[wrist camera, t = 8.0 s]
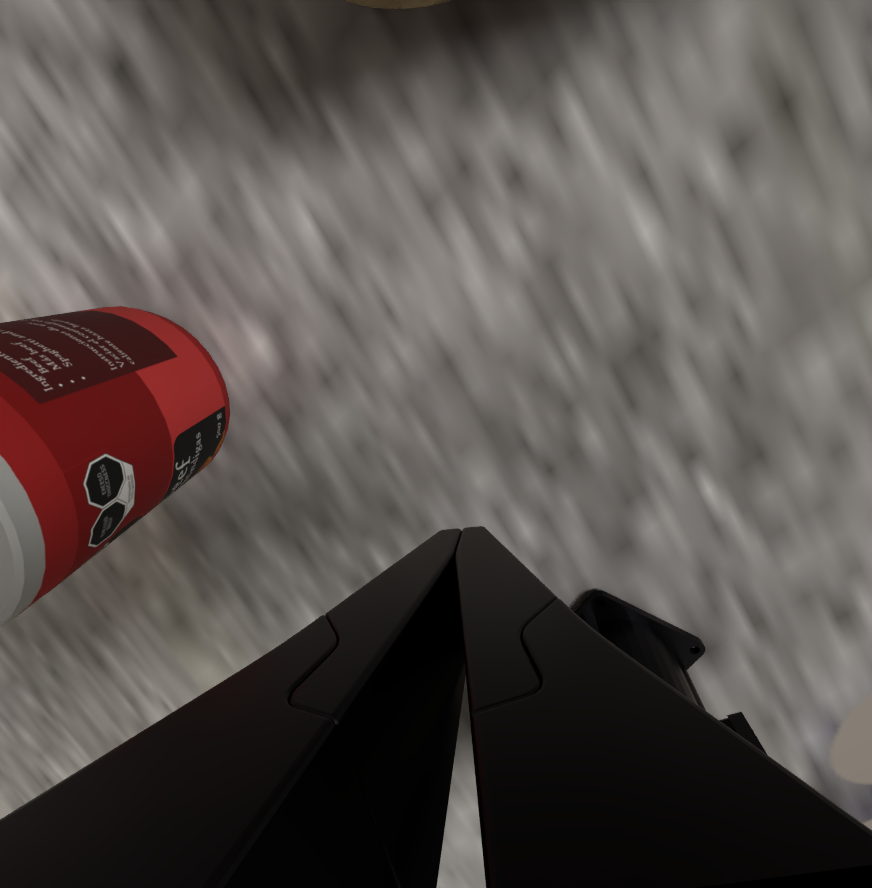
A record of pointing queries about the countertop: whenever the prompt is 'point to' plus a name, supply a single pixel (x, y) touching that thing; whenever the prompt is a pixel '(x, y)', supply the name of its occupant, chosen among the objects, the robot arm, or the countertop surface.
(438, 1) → the knob
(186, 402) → the canned food
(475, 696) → the robot arm
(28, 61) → the countertop surface
